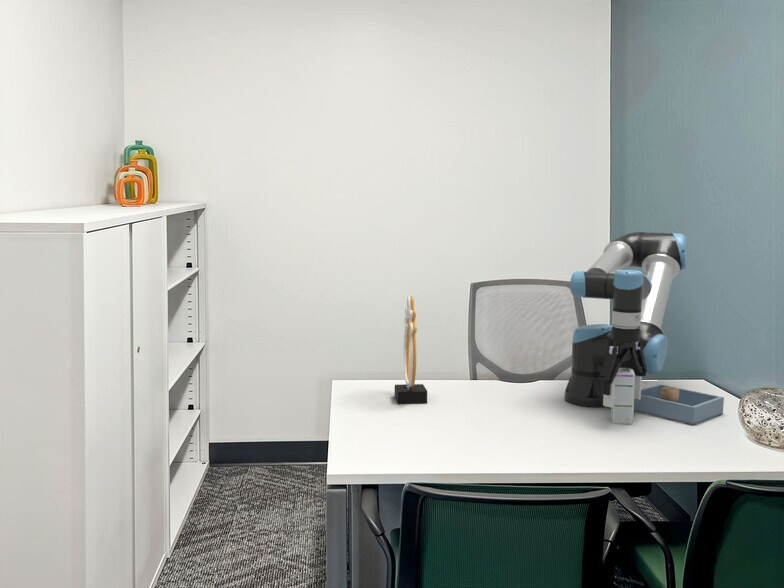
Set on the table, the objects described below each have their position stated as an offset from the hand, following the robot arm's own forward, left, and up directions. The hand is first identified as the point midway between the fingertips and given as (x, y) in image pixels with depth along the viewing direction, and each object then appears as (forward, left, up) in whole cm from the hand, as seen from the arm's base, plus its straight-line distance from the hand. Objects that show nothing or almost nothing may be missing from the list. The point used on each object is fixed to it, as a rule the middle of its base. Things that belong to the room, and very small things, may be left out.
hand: (622, 402), depth 214 cm
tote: (+5, +20, -5) cm, 21 cm away
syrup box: (0, 0, -6) cm, 6 cm away
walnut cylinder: (+5, +16, -5) cm, 18 cm away
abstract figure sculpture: (-53, -31, -6) cm, 62 cm away
